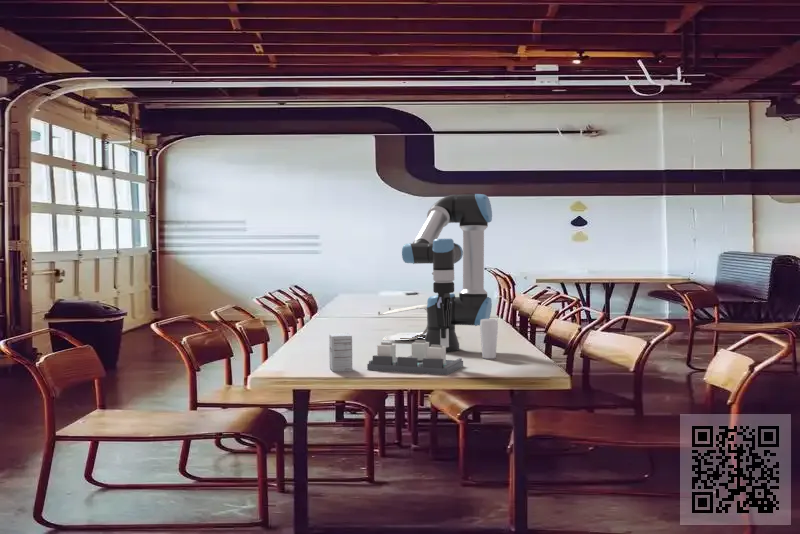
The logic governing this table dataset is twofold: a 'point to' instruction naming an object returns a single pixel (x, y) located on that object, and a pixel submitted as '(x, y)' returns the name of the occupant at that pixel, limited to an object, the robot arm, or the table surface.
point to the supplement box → (340, 352)
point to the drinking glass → (489, 337)
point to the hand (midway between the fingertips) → (444, 346)
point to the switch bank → (414, 365)
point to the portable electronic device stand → (406, 310)
